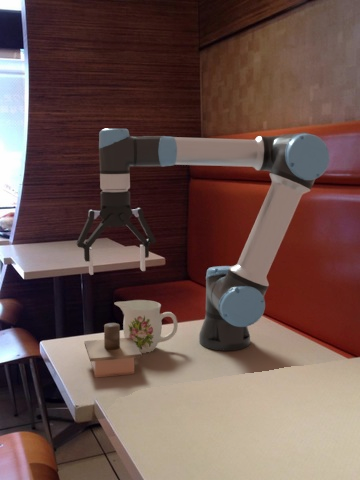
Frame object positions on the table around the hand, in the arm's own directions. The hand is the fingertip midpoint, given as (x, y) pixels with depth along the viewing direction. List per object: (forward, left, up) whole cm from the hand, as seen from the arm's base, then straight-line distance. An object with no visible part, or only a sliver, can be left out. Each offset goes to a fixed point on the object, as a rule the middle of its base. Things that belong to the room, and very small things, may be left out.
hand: (117, 271), depth 154 cm
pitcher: (-10, -10, -26) cm, 29 cm away
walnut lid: (+2, +2, -21) cm, 21 cm away
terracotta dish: (+2, +2, -26) cm, 26 cm away
